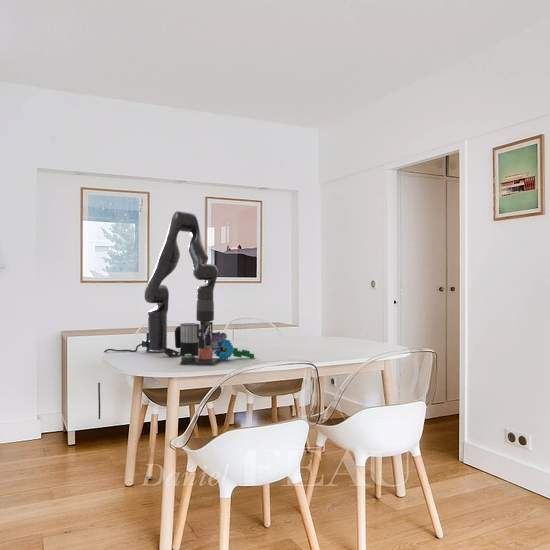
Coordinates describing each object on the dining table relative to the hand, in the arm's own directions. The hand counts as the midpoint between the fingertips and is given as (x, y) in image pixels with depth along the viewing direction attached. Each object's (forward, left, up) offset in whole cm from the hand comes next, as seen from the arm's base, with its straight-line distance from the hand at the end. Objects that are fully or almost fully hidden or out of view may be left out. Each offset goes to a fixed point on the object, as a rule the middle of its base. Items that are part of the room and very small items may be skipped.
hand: (204, 347), depth 233 cm
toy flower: (+11, +11, -7) cm, 17 cm away
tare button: (-6, -5, -4) cm, 9 cm away
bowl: (0, 0, -5) cm, 5 cm away
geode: (-13, +43, -7) cm, 46 cm away
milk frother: (-17, +17, -7) cm, 25 cm away
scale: (-1, -2, -7) cm, 7 cm away
